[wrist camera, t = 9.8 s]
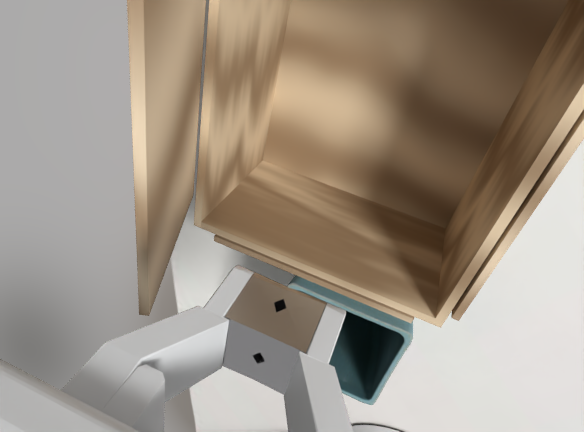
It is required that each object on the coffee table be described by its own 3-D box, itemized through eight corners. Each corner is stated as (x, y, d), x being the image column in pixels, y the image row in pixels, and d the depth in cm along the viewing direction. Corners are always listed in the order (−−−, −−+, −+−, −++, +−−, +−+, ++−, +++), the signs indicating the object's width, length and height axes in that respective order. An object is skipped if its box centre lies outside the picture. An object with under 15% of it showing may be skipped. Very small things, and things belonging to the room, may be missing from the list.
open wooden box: (453, 241, 32) (446, 338, 24) (257, 167, 34) (193, 232, 27) (613, -38, 21) (699, -30, 13) (305, -112, 23) (219, -143, 16)
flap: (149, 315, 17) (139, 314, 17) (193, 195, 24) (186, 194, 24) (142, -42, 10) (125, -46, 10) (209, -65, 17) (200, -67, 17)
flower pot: (325, 214, 35) (287, 282, 27) (428, 253, 33) (415, 337, 26) (303, 286, 40) (266, 359, 33) (391, 323, 38) (372, 408, 31)
